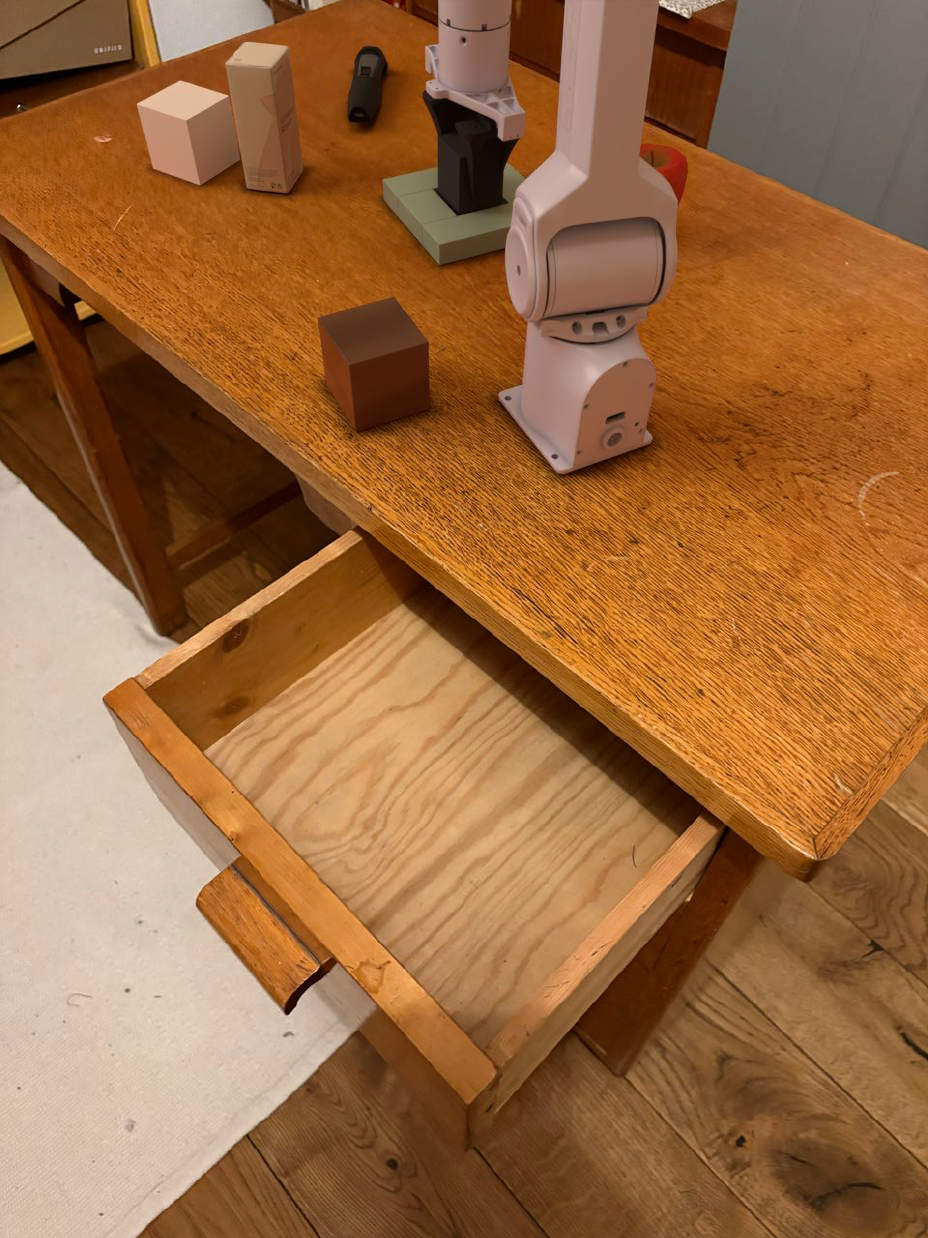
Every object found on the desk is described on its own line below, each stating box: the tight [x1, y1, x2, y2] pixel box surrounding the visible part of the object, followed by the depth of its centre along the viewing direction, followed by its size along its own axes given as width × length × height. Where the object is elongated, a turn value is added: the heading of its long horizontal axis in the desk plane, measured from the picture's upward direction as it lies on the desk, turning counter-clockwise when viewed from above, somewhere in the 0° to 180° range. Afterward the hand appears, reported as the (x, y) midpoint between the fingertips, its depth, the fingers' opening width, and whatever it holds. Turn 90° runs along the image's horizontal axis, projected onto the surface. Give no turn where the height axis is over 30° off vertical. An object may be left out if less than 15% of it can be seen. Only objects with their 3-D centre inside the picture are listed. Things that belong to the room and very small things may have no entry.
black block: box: [437, 131, 504, 215], centre depth 81 cm, size 4×4×5 cm
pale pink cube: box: [136, 79, 241, 186], centre depth 87 cm, size 6×6×6 cm
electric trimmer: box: [346, 45, 389, 124], centre depth 97 cm, size 4×16×3 cm, turn 178°
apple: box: [639, 143, 689, 206], centre depth 80 cm, size 6×6×8 cm
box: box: [225, 41, 304, 194], centre depth 83 cm, size 5×4×11 cm
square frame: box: [382, 161, 527, 266], centre depth 83 cm, size 12×12×2 cm
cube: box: [317, 296, 431, 433], centre depth 66 cm, size 6×6×6 cm
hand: (470, 187), depth 82 cm, fingers closed on black block, 4 cm apart
